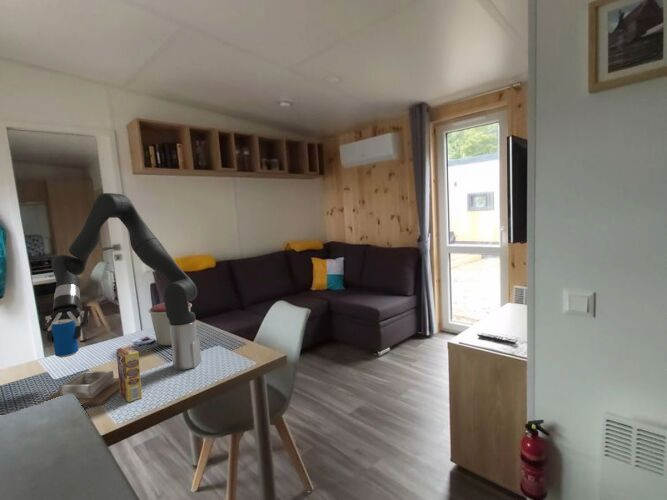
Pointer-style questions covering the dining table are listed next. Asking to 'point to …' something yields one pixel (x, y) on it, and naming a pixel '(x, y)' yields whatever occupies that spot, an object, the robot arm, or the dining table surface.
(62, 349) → the beverage can
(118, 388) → the guard socket
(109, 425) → the dining table surface
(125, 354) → the candy box
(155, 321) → the canister
